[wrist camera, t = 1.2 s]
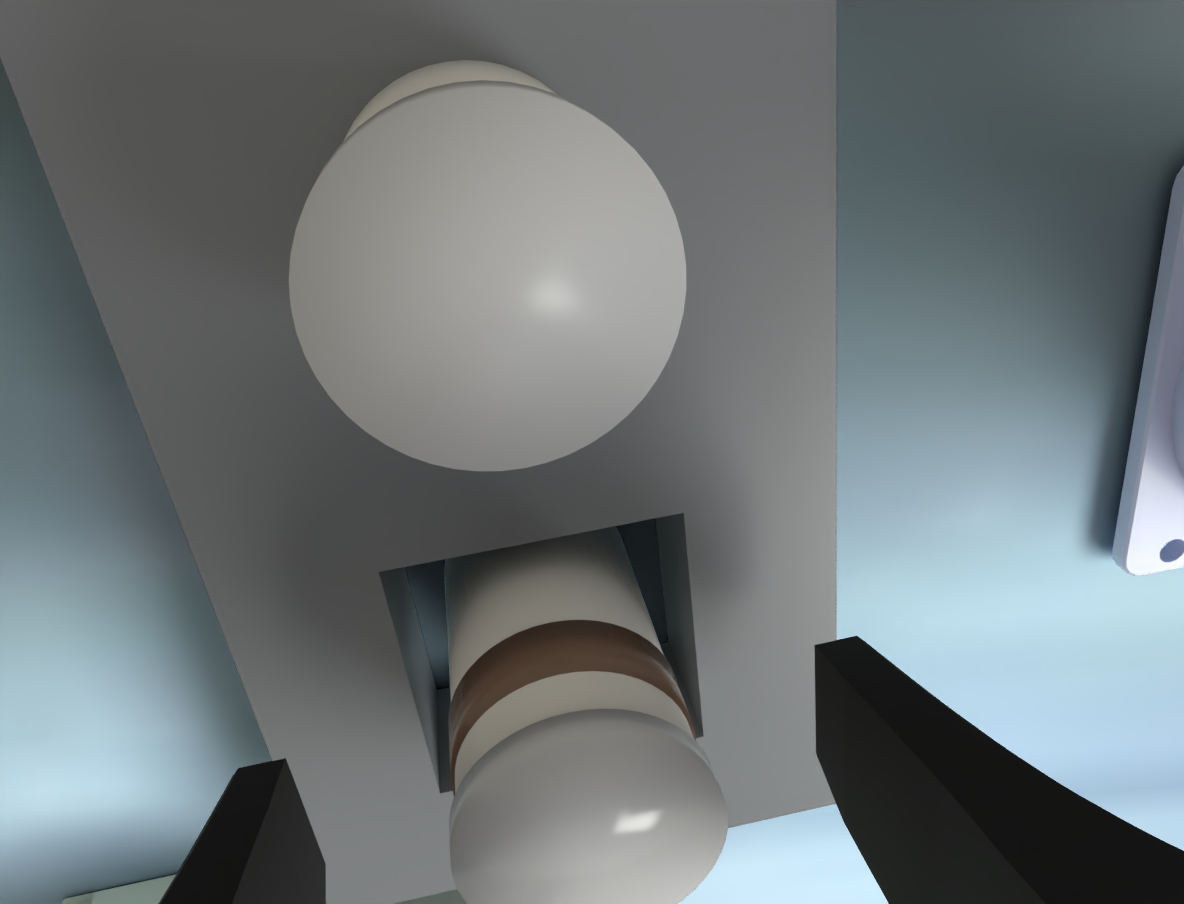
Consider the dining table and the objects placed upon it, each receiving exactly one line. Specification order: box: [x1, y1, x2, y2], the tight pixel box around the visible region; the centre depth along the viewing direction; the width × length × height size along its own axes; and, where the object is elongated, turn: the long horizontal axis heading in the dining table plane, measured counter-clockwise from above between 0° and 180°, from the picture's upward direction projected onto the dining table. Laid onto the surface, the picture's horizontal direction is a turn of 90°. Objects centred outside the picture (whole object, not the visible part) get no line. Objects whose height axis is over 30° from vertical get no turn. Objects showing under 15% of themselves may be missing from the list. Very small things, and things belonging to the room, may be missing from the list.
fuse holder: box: [0, 0, 837, 904], centre depth 13 cm, size 9×16×6 cm, turn 7°
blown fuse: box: [445, 526, 728, 904], centre depth 14 cm, size 3×3×6 cm
